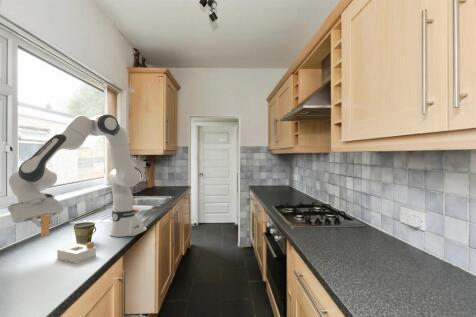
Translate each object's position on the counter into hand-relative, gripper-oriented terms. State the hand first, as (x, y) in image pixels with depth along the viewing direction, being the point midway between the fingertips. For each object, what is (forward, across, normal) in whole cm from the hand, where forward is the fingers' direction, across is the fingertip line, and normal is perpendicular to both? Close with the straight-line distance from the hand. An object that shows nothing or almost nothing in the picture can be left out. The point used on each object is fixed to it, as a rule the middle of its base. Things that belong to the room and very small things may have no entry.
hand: (46, 224), depth 124 cm
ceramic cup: (+9, +23, +13) cm, 28 cm away
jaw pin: (+3, 0, +4) cm, 5 cm away
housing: (+19, +7, +3) cm, 20 cm away
